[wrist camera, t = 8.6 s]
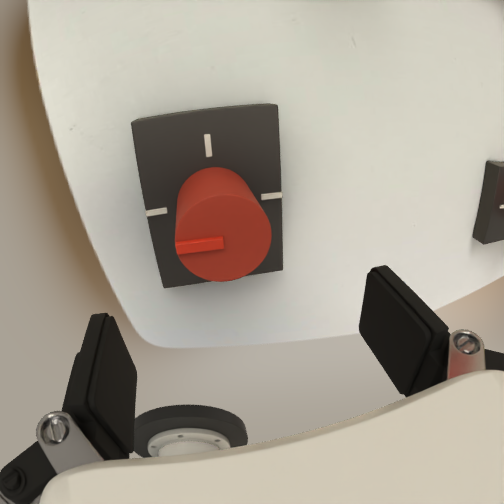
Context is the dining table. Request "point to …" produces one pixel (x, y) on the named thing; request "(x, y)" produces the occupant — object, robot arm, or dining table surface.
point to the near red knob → (220, 226)
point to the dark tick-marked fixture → (206, 156)
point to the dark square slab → (491, 205)
